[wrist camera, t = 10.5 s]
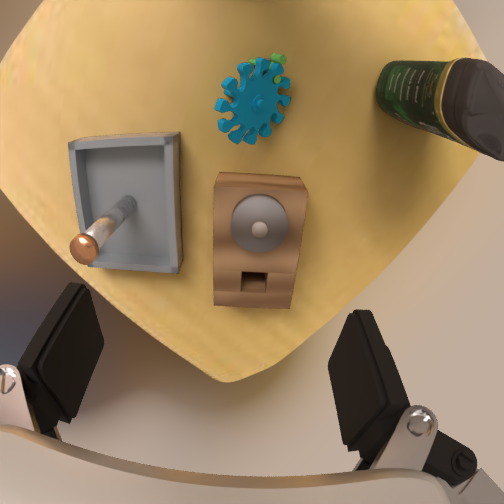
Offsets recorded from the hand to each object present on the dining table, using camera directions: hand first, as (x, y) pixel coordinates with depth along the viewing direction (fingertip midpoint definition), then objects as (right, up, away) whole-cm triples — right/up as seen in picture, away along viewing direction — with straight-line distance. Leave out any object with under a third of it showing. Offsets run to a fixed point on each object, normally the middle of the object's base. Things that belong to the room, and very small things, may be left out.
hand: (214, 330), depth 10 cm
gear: (+2, +21, +22) cm, 30 cm away
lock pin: (-15, +9, +27) cm, 32 cm away
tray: (-15, +10, +28) cm, 33 cm away
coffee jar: (+21, +23, +21) cm, 37 cm away
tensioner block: (+2, +5, +30) cm, 31 cm away
